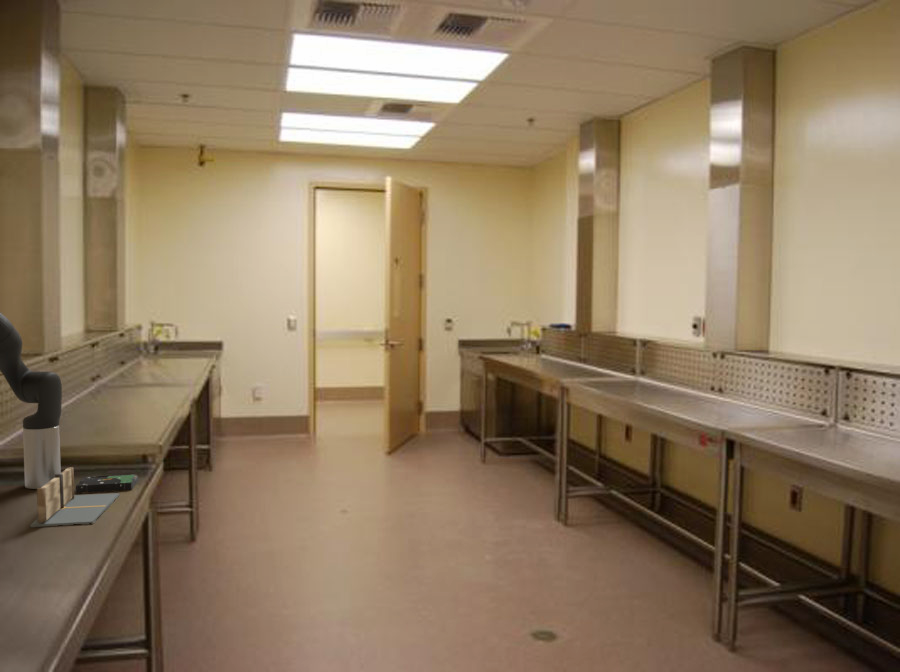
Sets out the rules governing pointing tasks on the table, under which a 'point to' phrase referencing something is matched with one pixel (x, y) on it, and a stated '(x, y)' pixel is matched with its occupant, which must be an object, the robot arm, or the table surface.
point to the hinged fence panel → (48, 499)
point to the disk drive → (107, 483)
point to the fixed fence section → (66, 485)
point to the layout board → (80, 510)
